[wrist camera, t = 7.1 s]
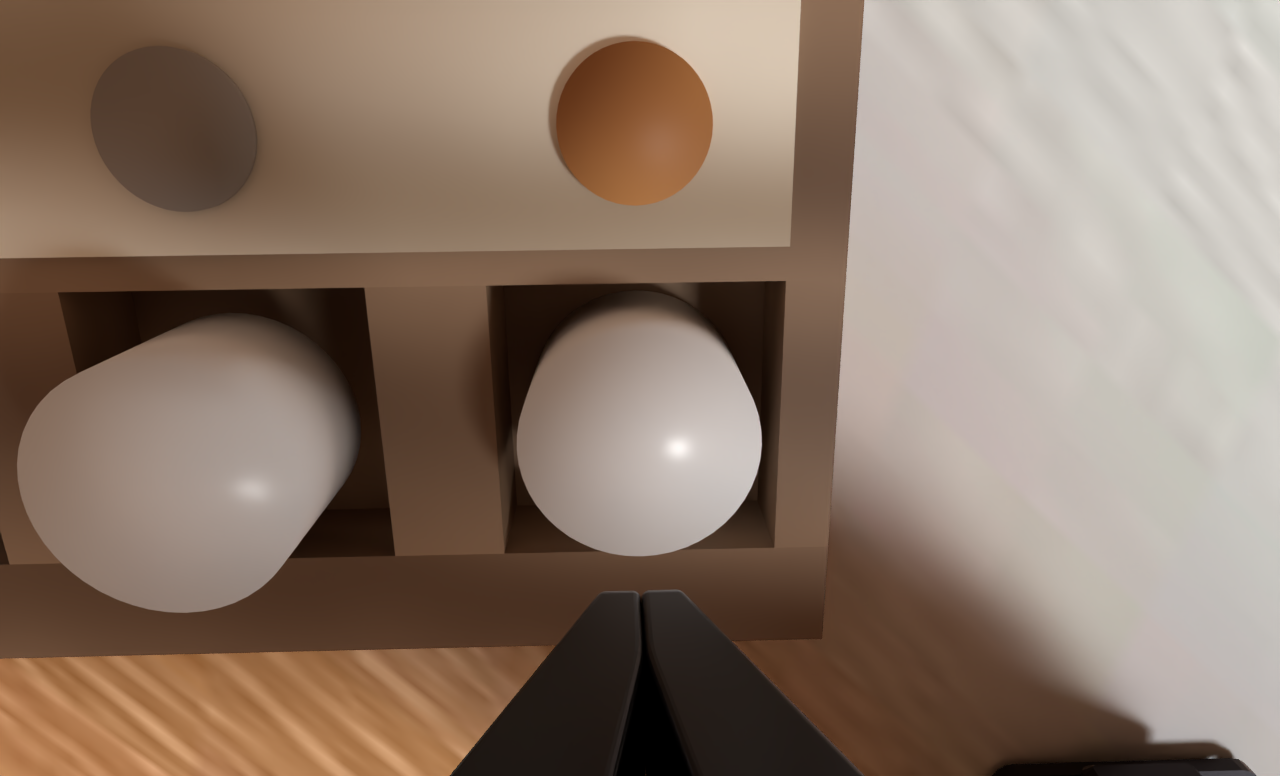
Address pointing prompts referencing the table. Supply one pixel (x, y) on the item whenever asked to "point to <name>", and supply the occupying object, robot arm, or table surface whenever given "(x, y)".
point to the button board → (431, 278)
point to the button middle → (190, 461)
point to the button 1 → (638, 426)
